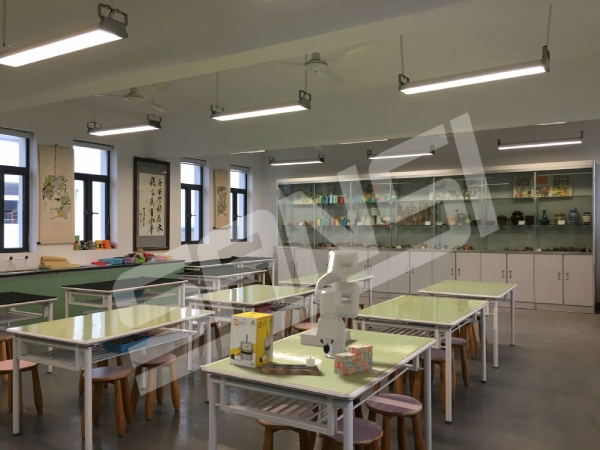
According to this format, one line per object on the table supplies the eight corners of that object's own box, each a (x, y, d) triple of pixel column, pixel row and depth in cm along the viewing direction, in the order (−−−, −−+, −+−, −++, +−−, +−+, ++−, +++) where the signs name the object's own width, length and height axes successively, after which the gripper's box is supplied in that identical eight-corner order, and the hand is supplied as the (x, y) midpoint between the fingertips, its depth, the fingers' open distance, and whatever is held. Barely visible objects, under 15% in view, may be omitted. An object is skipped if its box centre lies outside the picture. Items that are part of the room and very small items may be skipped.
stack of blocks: (343, 376, 233) (343, 350, 234) (333, 373, 238) (334, 348, 238) (372, 369, 247) (372, 345, 247) (363, 366, 252) (363, 343, 252)
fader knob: (313, 365, 241) (314, 356, 242) (314, 368, 236) (314, 358, 237) (305, 365, 241) (306, 356, 241) (306, 368, 236) (306, 358, 236)
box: (318, 336, 332) (299, 344, 302) (318, 325, 332) (300, 332, 303) (350, 340, 322) (334, 349, 293) (351, 328, 322) (335, 336, 293)
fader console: (317, 369, 244) (317, 363, 244) (318, 374, 234) (319, 368, 234) (262, 368, 243) (262, 362, 243) (261, 373, 233) (261, 367, 233)
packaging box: (272, 361, 257) (274, 314, 258) (255, 368, 243) (257, 318, 243) (247, 357, 265) (249, 311, 265) (229, 363, 250) (231, 315, 251)
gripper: (341, 315, 244) (340, 352, 243) (312, 314, 243) (310, 351, 242) (343, 317, 236) (342, 355, 235) (313, 316, 236) (311, 354, 235)
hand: (326, 353), depth 239 cm, fingers closed
